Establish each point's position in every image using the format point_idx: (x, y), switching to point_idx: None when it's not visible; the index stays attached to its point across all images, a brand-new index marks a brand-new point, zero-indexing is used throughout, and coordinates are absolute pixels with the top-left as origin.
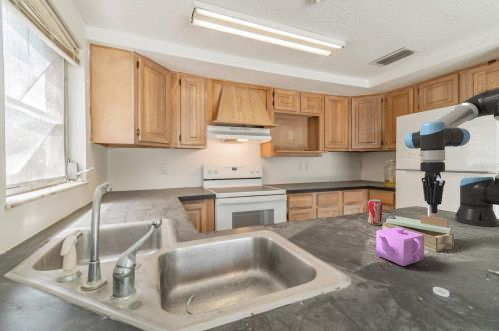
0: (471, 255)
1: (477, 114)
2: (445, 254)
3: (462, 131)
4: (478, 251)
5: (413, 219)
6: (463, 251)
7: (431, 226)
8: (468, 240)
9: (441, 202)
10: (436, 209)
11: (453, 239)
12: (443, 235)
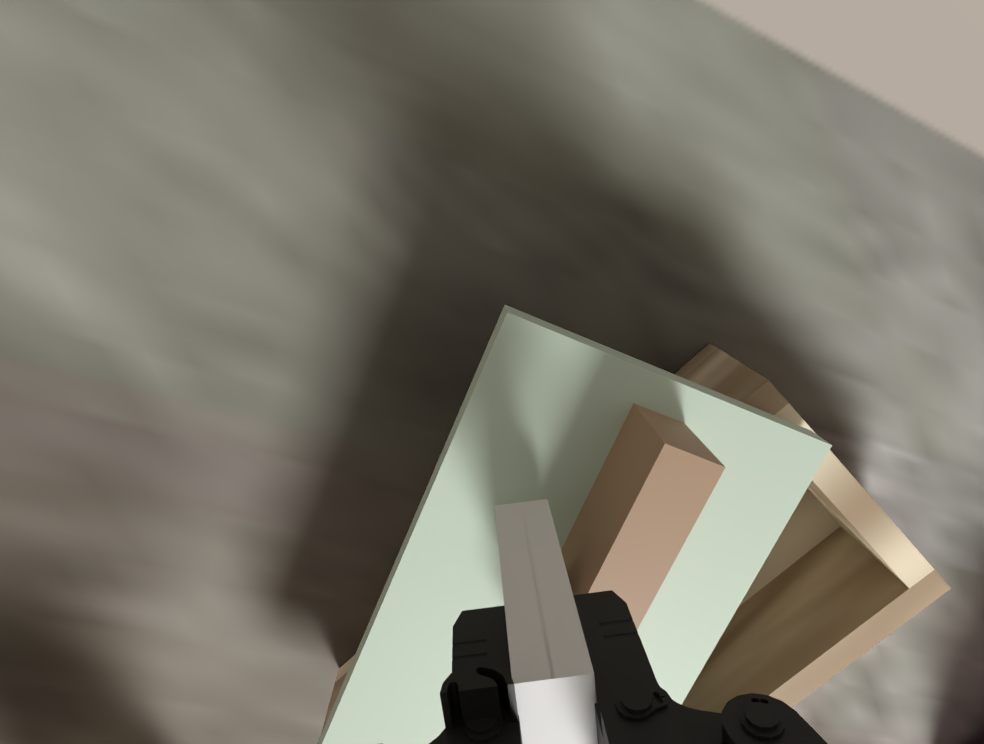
0: (863, 268)
1: None
2: (893, 461)
3: None
4: (733, 154)
5: (378, 683)
6: (775, 292)
7: (692, 580)
8: (368, 81)
9: (814, 730)
10: (639, 647)
11: (746, 366)
12: (849, 498)
